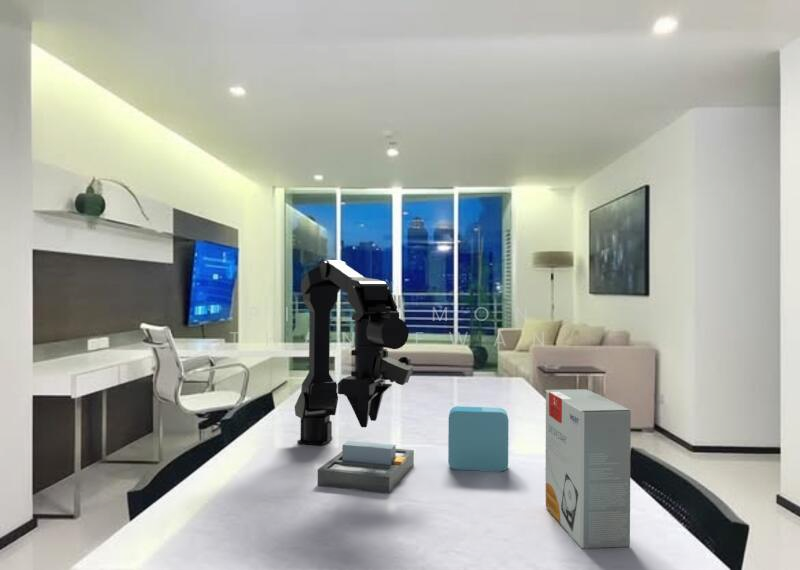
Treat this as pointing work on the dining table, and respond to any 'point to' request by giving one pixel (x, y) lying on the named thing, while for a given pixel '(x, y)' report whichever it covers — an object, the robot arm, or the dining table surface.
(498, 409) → the data package
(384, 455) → the block
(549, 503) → the hard drive box
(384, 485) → the frame
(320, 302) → the robot arm
